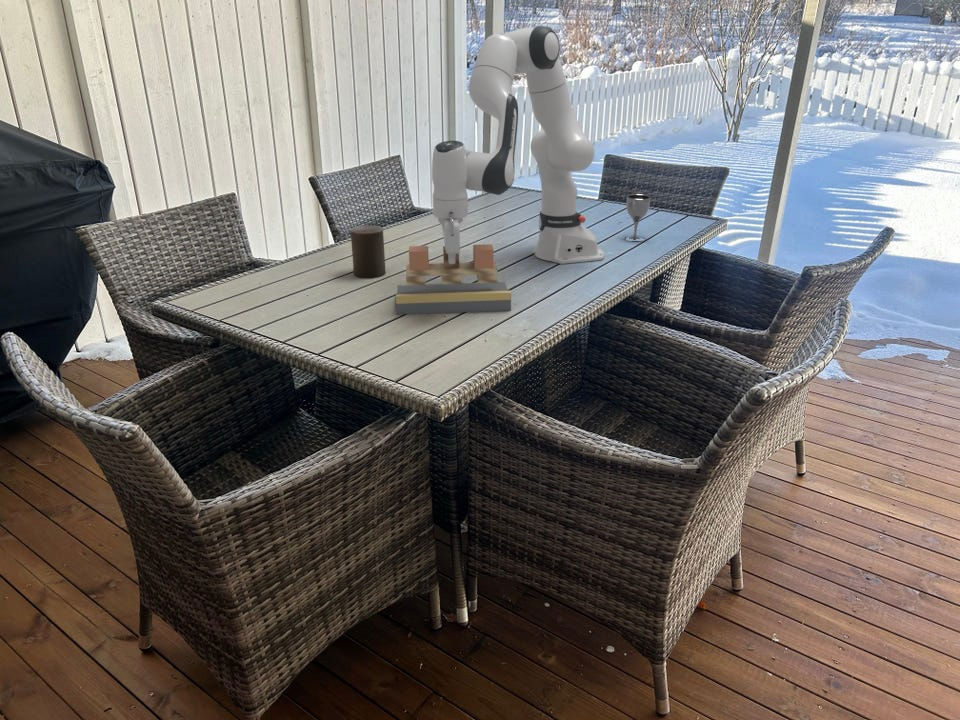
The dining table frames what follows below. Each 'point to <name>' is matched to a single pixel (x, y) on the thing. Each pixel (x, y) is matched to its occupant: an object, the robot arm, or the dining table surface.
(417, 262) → the block
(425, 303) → the dock
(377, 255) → the pillar candle
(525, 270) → the dining table surface
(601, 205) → the dining table surface
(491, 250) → the block
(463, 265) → the pallet
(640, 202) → the wine glass
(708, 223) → the dining table surface
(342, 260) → the dining table surface
